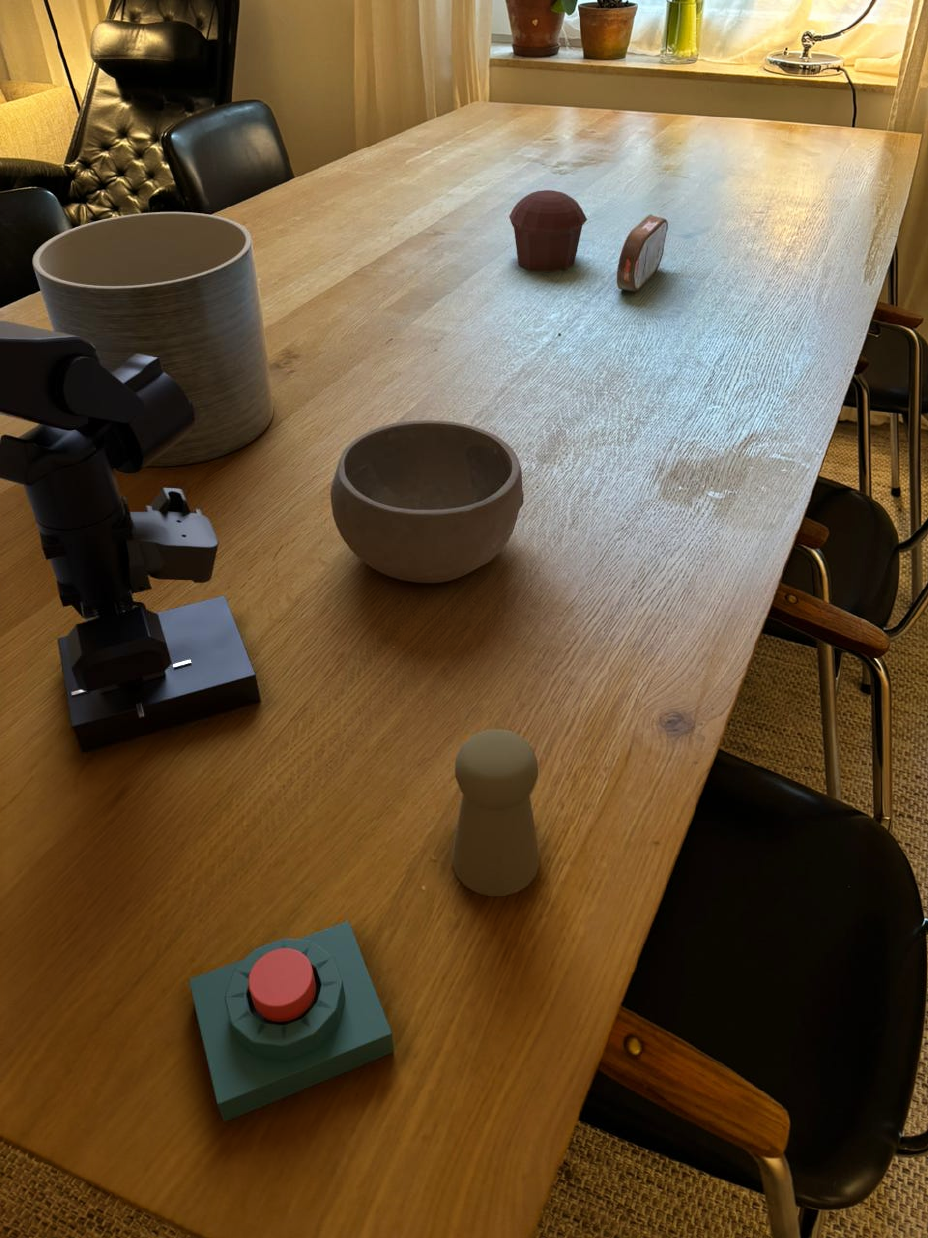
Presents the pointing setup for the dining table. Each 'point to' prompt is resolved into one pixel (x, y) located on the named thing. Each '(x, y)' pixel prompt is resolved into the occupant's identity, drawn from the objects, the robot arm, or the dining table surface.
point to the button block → (289, 1025)
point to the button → (282, 985)
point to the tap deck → (170, 680)
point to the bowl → (427, 498)
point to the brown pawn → (496, 814)
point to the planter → (170, 314)
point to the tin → (641, 253)
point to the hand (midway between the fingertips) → (131, 673)
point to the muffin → (547, 230)
